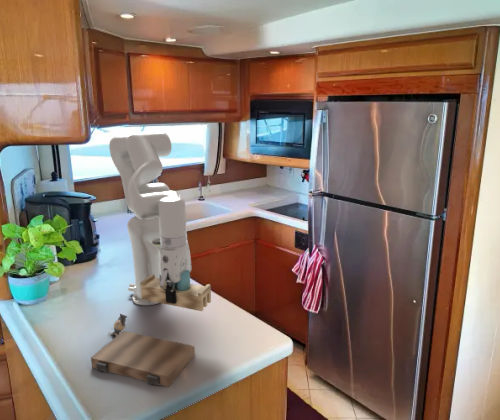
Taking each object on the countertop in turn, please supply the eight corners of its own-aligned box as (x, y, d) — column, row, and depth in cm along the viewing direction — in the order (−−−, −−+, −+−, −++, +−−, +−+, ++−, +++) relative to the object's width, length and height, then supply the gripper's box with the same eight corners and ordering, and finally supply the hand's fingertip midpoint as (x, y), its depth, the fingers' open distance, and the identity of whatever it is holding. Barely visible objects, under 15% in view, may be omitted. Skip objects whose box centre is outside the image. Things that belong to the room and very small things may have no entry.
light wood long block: (141, 299, 122) (140, 282, 120) (153, 290, 127) (151, 274, 126) (201, 311, 115) (201, 293, 113) (211, 301, 120) (210, 284, 119)
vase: (122, 326, 131) (121, 310, 130) (133, 332, 128) (132, 316, 127) (107, 333, 127) (106, 316, 125) (118, 340, 124) (117, 323, 122)
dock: (89, 369, 110) (88, 359, 109) (124, 339, 124) (123, 330, 123) (166, 389, 102) (165, 379, 101) (194, 355, 116) (194, 345, 115)
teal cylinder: (173, 289, 118) (172, 273, 116) (180, 283, 121) (180, 268, 120) (186, 292, 116) (185, 276, 115) (192, 286, 120) (192, 270, 119)
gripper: (169, 252, 107) (173, 313, 112) (199, 232, 122) (201, 286, 127) (144, 249, 109) (149, 309, 114) (177, 229, 125) (180, 283, 130)
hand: (177, 296), depth 121 cm, fingers closed on light wood long block, 6 cm apart
